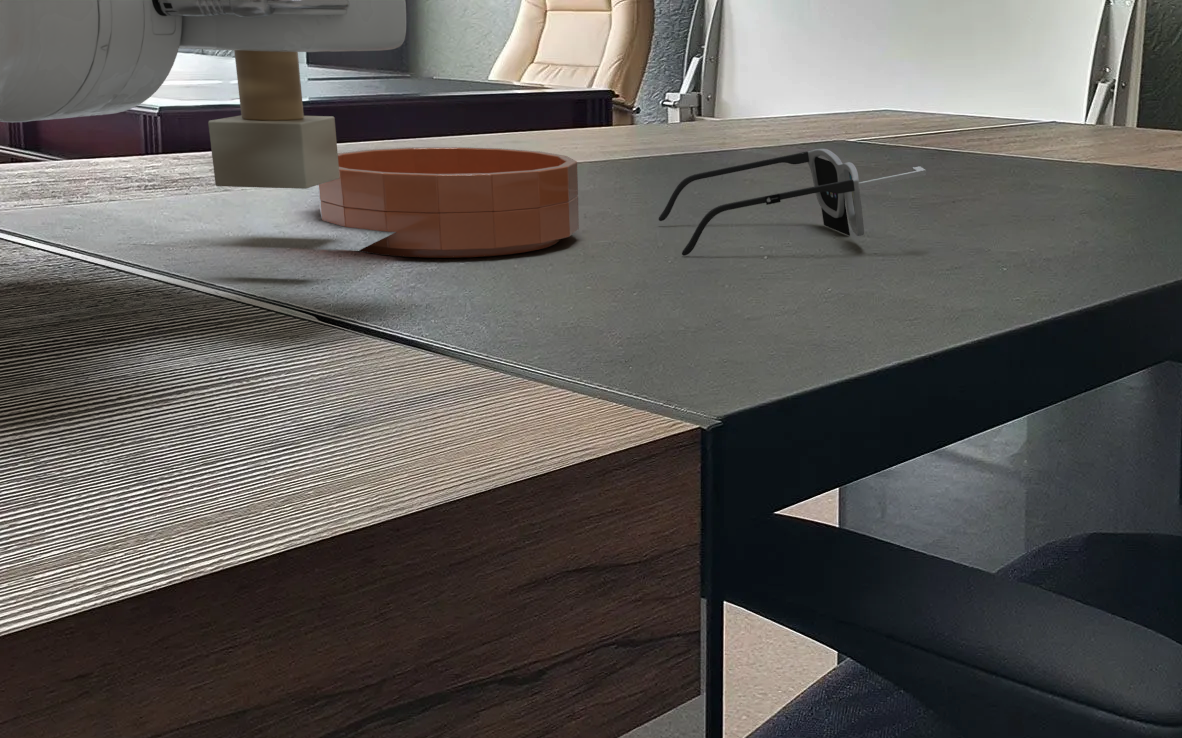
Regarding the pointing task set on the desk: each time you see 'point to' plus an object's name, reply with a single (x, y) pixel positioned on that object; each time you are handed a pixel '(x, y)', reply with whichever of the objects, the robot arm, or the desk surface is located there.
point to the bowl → (454, 200)
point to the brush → (272, 130)
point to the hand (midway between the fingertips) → (272, 1)
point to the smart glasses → (804, 191)
